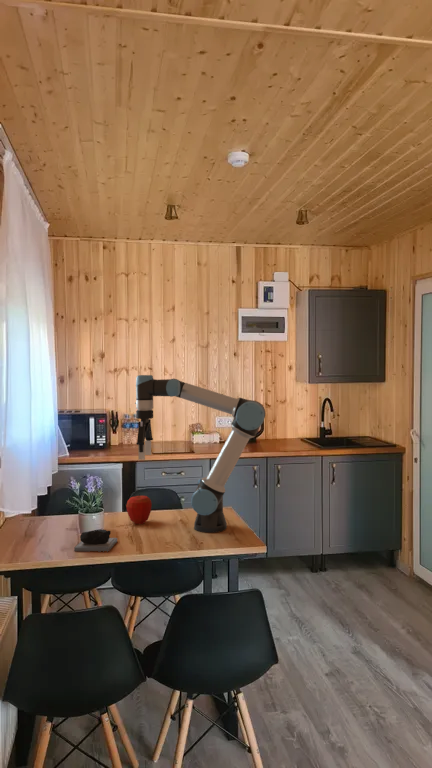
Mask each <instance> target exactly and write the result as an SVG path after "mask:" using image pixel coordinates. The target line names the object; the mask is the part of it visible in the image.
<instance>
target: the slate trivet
mask: <svg viewBox="0 0 432 768" xmlns="http://www.w3.org/2000/svg"><path fill="white" fill-rule="evenodd" d="M117 543H118V538H117V537H110V538H109V540H108V542H107V543H105V544H97V545H94V544H84V543H83V542H82V541H81V540H80V541H79V542H78V543H77V545H76V546H74V552H90V551H98V553H99V552H100V553H105V552H104V551H107V552H106V553H109V552H110V551H111V549H112V548H114V545H116V544H117ZM101 551H103V552H101ZM108 551H109V552H108Z"/></svg>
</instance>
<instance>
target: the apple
mask: <svg viewBox="0 0 432 768" xmlns="http://www.w3.org/2000/svg"><path fill="white" fill-rule="evenodd" d="M125 506H126V507H125V508H126V512H127V515H128V517H129V519H130V521H131V522H132V523H134V525H144V524H145V523H146V522H147V521H148V520H149V517H150V514H151V512H152V500H151V498H150V497H148V496H147V495H140V494H139V495H135V496H131V497H130V498H129V499H128V500H127V502H126V505H125Z"/></svg>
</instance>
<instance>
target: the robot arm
mask: <svg viewBox="0 0 432 768" xmlns="http://www.w3.org/2000/svg"><path fill="white" fill-rule="evenodd" d="M135 393H136V394H135V395H136V396H135V397H136V398H135V399H136V400H135V401H136V402H135V403H134V404H135V405H136V406H135V407H136V408H135V409H137V410H136V411H135V413H136V415H135V416H136V419H138V420H140V421H139V422H138V428H137V429H138V430H137V431H138V432H137V439H136V440H137V441H136V445H137V447H138V448H137V449H138V450H137V451H138V452H137V453H138V455H137V456H138V459H137V460H139V461H140V460H142V461H144V460H146V456H152V441H153V440H154V437H153V433H152V425H151V423H152V422H151V421H152V420H151V419H154V410H153V409H154V397H170V398H172V397H176V398H179V399H183V400H186V401H189V402H192V403H195V404H198V405H201V406H204V407H207V408H210V409H213V410H217V411H220V412H222V413H226V414H228V415H231V416H232V417H233V419H232V421H231V423H230V425H231V431H230V432H229V434H228V436H227V438H226V440H225V442H224V444H223V446H222V448H221V450H220V452H219V454H218V455H217V457H216V459H215V461H214V463H213V464H212V466H211V469H210V470H209V472H208V473H207V476H205V477H202V478H199V479H198V480H197V488H196V489H195V491H194V492H193V493H192V495H191V499H190V505H191V507H192V509H193V511H194V512H195V513H197V514H196V517H195V520H194V524H193V526H194V527H193V528H194V530H195V531H197V532H202V533H219V531H220V532H224V531H225V529H226V528H227V527H228V526H227V520H226V517H225V514H224V500H223V499H224V495H225V493H226V488H225V486H226V483H227V482H228V481H229V477H230V476H231V474H232V472H233V471H234V469H235V467H236V464H237V463H238V461H239V459H240V457H241V455H242V454H243V451H244V450H245V448H246V446H247V444H248V442H249V440H251V439H252V438H255V437H256V435H257V433H258V432H259V429H260V427H261V426H262V424H263V423H264V420H265V418H266V409H265V407H264V405H263V404H262V403H260V402H259V401H257V400H253V399H247V398H243V397H238V398H235V397H232V396H228V395H226V394H223V393H219V392H217V391H214V390H210V389H207V388H204V387H201V386H198V385H194V384H191V383H188V382H184V381H182V380H180V379H177V378H170V379H169V378H167V379H166V378H165V379H163V378H162V379H155V378H154V375H152V374H138V375H137V376H136V379H135ZM223 530H224V531H223Z"/></svg>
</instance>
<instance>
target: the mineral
mask: <svg viewBox="0 0 432 768" xmlns="http://www.w3.org/2000/svg"><path fill="white" fill-rule="evenodd" d="M111 532H112V531H111V530H107V529H102V528H100V529H93V530H87V531H83V532H81V533H80V535H79V536H80V537H79V538H80V539H79V540H80V542H81V541H82V542H83V543H84V544H94V545H97V544H105V543H107V542H108V540H109V538H111V537H110V535H111Z"/></svg>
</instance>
